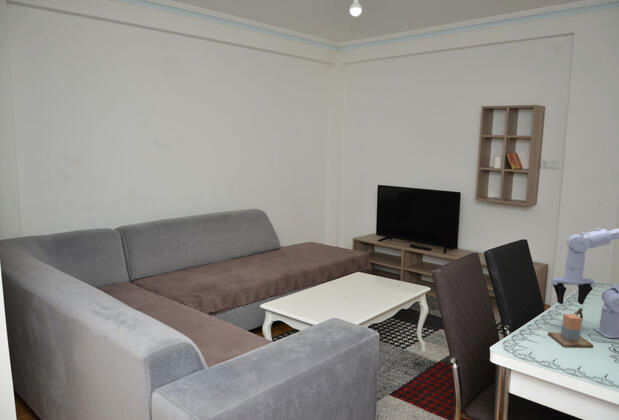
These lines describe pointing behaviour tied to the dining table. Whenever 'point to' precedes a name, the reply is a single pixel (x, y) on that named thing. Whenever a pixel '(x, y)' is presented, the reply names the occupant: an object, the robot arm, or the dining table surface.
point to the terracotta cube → (572, 321)
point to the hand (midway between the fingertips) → (570, 303)
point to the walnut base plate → (570, 341)
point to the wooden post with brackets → (579, 312)
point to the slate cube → (570, 334)
